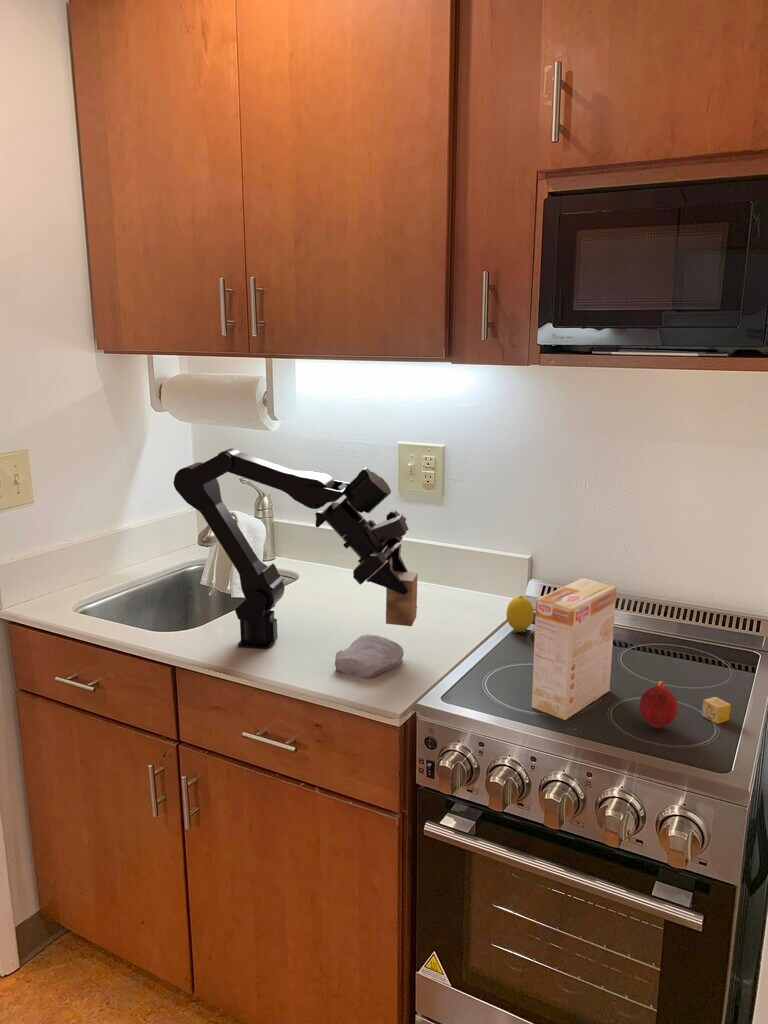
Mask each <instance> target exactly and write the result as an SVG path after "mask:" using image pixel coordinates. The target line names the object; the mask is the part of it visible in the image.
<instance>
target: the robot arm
mask: <svg viewBox="0 0 768 1024" xmlns="http://www.w3.org/2000/svg"><path fill="white" fill-rule="evenodd" d="M227 473H230V474H233V475H236V476H238V477H242V478H244V479H247V480H249V481H254V482H256V483H258V484H262V485H265V486H267V487H271V488H274V489H276V490H279V491H281V492H284V493H285V494H287V495H288V496H289V497H290V498H291V499H293V500H294V501H296V502H298V503H299V504H301V505H303V506H304V507H306V508H309V509H311V510H312V509H313V510H316V509H319V510H318V511H317V512H315V527H316V528H319V527H320V526H322V525H323V524H324V523H327V525H329V526H330V528H332V530H334V532H335V533H336V534H337V535H338V536H339V537H340V538H341V540H342V541H344V543H343V545H342V546H343V548H345V549H348V548H350V549H351V550H352V551H353V552H354V553H355V555H357V557H358V558H359V559H358V560H357V562H358V563H359V564H358V565H357V566H356V567H355V568H354V569H353V571H352V573H353V574H352V575H353V577H352V578H353V579H354V580H355V581H356V583H358V585H360V586H361V585H362V584H363V583H364V582H367V583H369V582H370V583H373V584H375V585H377V586H381V587H383V588H385V589H386V588H388V589H391V590H393V591H396V592H398V593H400V594H403V595H405V594H406V593H407V592H408V590H407V588H406V587H405V585H404V584H403V582H402V581H401V580H400V578H399V577H398V575H397V574H396V573H395V571H401V572H409V570H408V569H407V567H406V566H405V563H404V561H403V558H402V557H401V553H402V552H401V551H402V544H401V543H400V542H402V540H403V538H404V537H403V536H405V535H406V534H407V532H408V531H409V530H410V529H409V527H408V524H407V522H406V521H407V518H406V517H405V516H404V515H403V513H399V512H398V511H396V510H395V509H394V510H392V511H389V512H388V513H387V514H386V519H385V520H383V521H382V522H379V523H376V522H375V521H374V520H371V519H369V520H367V519H365V518H364V516H363V515H362V514H363V513H366V514H370V513H372V511H374V509H376V507H378V506H379V505H380V504H381V503H383V501H384V500H385V499H386V498H387V497H389V496H390V495H391V493H392V489H391V487H390V486H389V484H388V483H387V482H386V480H385V479H384V478H383V477H382V476H379V475H378V474H377V473H376V472H373V471H371V470H370V469H369V467H364V468H363V469H362V470H360V471H359V473H358V474H357V476H356V477H355V478H354V479H353V480H351V481H350V482H347V481H346V482H345V481H341V480H337V479H336V480H335V479H334V477H332V476H331V475H329V474H327V473H324V472H317V471H316V472H315V471H312V470H311V471H310V470H297V469H296V470H295V469H290V468H288V467H285V466H282V465H279V464H276V463H273V462H271V461H267V460H264V459H262V458H259V457H255V456H252V455H249V454H248V453H244V452H241V451H239V450H237V448H232V447H231V448H228V449H225V450H223V451H220V452H219V453H218V454H217V455H216V456H214V457H212V458H210V459H208V460H207V461H204V462H202V461H201V462H200V461H199V462H194V463H193V464H190V465H187V466H186V467H182V468H180V469H179V470H178V471H176V473H175V474H174V479H173V487H174V489H175V491H176V492H177V493H178V494H179V496H181V498H182V499H183V500H184V502H185V503H187V504H188V505H189V506H190V507H192V508H194V509H195V510H196V511H198V512H199V513H200V514H201V516H202V518H203V519H204V520H205V522H206V523H207V525H208V527H209V528H210V530H211V531H212V533H213V535H214V536H215V538H216V539H217V541H218V542H219V544H220V546H221V547H222V549H223V551H224V552H225V554H226V555H227V557H228V559H229V560H230V562H231V564H232V565H233V567H234V568H235V570H236V572H237V573H238V575H239V582H240V588H241V592H242V594H243V596H244V600H243V601H242V602H241V604H240V605H238V606H237V607H236V608H235V609H234V612H235V615H236V617H237V619H238V620H239V627H240V628H239V629H240V632H239V633H240V641H239V642H238V643H237V646H238V647H242V648H255V649H258V648H259V649H270V648H271V646H272V645H273V644H274V642H275V641H276V640H277V638H278V636H279V635H278V619H277V618H275V611H274V610H272V609H273V608H274V607H276V604H277V603H278V602H279V601H280V600H281V598H283V596H284V593H285V589H286V588H285V585H284V582H283V581H284V580H285V578H284V577H283V576H282V575H281V574H280V573H279V571H278V569H277V567H276V565H275V563H273V562H272V563H270V564H269V565H266V564H265V563H264V562H262V561H261V560H260V559H259V558H258V556H257V554H256V553H255V551H254V549H253V548H252V547H251V545H250V543H249V542H248V540H247V538H246V537H245V535H244V534H243V532H242V531H241V529H240V527H239V526H238V523H237V522H236V521H235V520H234V518H233V515H232V514H231V513H230V511H229V510H228V508H227V506H226V505H225V503H224V501H223V498H222V494H221V488H220V483H219V480H218V478H220V477H221V476H223V475H224V474H227ZM343 496H345V498H344V499H343V500H342V501H341V502H337V501H338V500H340V498H342V497H343ZM328 503H330V504H329V505H328V506H327V507H326V508H325V509H324V510H320V509H321V508H323V507H324V506H325V505H327V504H328ZM399 543H400V544H399ZM397 544H399V545H397ZM395 545H397V546H396V547H395Z"/></svg>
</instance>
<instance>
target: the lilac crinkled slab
mask: <svg viewBox="0 0 768 1024" xmlns="http://www.w3.org/2000/svg"><path fill="white" fill-rule="evenodd" d="M403 657H404V649H403V647H402V646H401V645H400V644H399V643H397V642H395V641H393V640H390V639H388V638H387V637H383V636H380V635H376V634H375V635H374V634H364V635H361V636H359V637H357V639H355V640H354V641H353V642H352V643H351V644H350V645H349V646H348V647H347V648H345V649H343V650H341V649H340V650H338V651H337V652H336V654H335V662H334V666H335V669H336V670H337V672H338V673H343V674H347V675H354V676H357V677H359V678H363V679H369V678H372V677H373V676H377V675H380V674H381V673H383V672H387V671H390V670H392V669H394V668H396V667H398V666H399V665H400V663H401V661H402V659H403Z"/></svg>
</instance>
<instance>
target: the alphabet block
mask: <svg viewBox="0 0 768 1024" xmlns="http://www.w3.org/2000/svg"><path fill="white" fill-rule="evenodd" d="M730 713H731V703H729V702H727V701H724V700H723V699H721V698H719V697H717V696H712V697H709V698H706V699H703V702H702V709H701V716H702V717H704V718H706V719H707V720H709V721H711V722H712V723H713V724H716V725H718V724H721V723H724V722H727V721H729V720H730Z"/></svg>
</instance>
